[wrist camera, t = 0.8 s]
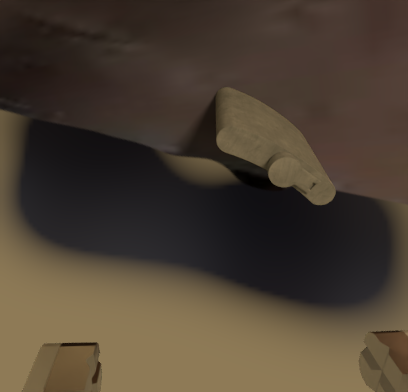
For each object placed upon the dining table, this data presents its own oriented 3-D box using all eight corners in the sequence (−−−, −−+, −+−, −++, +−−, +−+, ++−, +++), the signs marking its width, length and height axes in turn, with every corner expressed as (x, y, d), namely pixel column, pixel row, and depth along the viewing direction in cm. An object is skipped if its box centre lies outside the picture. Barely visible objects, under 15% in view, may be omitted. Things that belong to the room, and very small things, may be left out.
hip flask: (211, 101, 55) (210, 153, 37) (226, 77, 53) (232, 121, 36) (294, 152, 58) (329, 221, 41) (311, 131, 57) (353, 194, 39)
